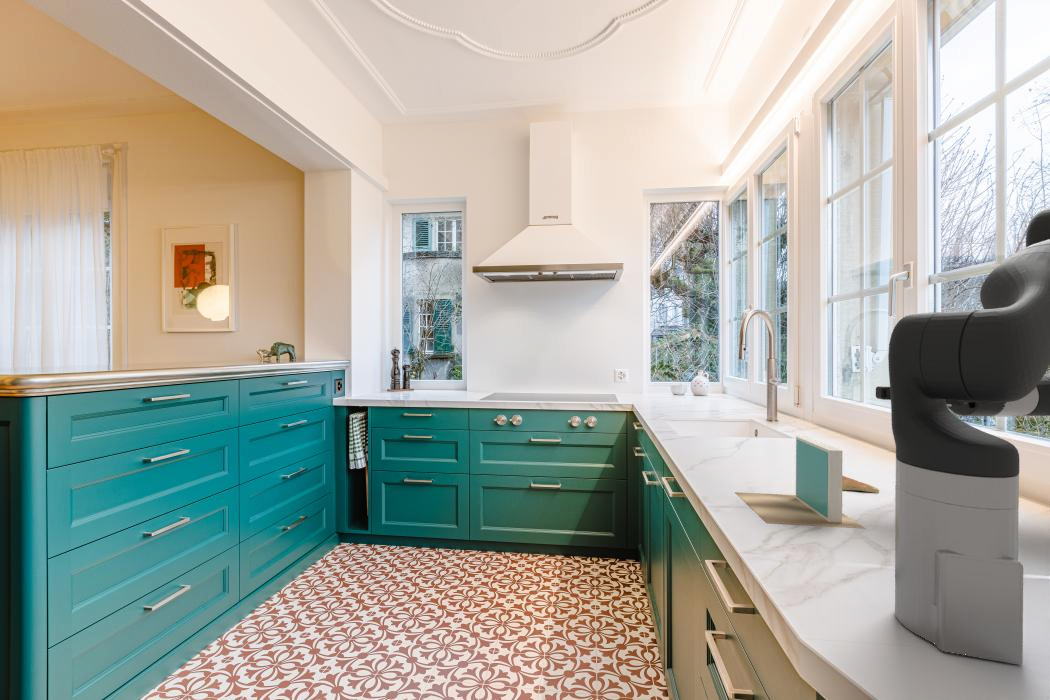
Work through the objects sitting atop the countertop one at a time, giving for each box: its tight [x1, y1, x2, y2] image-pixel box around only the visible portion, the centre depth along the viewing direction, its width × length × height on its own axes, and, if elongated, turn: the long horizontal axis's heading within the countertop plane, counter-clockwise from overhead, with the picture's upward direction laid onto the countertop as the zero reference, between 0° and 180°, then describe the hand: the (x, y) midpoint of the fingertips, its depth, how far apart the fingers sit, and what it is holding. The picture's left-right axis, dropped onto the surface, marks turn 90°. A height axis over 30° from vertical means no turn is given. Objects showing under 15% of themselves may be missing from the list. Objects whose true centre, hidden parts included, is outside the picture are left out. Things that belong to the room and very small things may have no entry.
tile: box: [795, 436, 843, 523], centre depth 81 cm, size 12×2×12 cm, turn 172°
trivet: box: [734, 491, 865, 529], centre depth 81 cm, size 16×15×1 cm
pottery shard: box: [842, 475, 880, 494], centre depth 94 cm, size 10×9×2 cm
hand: (878, 392), depth 79 cm, fingers closed
